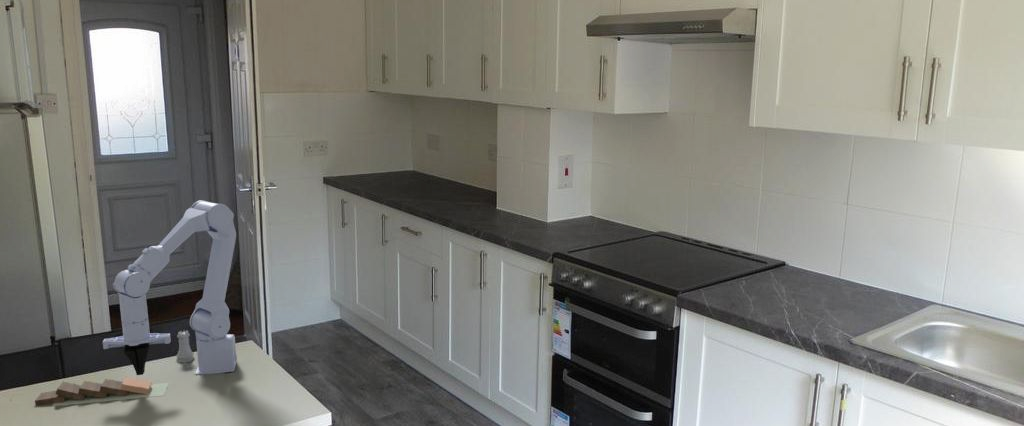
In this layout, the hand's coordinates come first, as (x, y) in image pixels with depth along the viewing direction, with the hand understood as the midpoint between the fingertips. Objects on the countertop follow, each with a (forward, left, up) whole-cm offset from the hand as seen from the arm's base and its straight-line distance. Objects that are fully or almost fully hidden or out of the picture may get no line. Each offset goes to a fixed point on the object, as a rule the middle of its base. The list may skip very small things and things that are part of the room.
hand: (140, 373), depth 183 cm
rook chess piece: (-7, -19, -5) cm, 21 cm away
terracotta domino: (-2, 0, -4) cm, 4 cm away
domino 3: (+7, 0, -4) cm, 8 cm away
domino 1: (+16, 0, -4) cm, 17 cm away
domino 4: (+3, 0, -4) cm, 5 cm away
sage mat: (+7, 0, -5) cm, 8 cm away
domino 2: (+12, 0, -4) cm, 13 cm away
